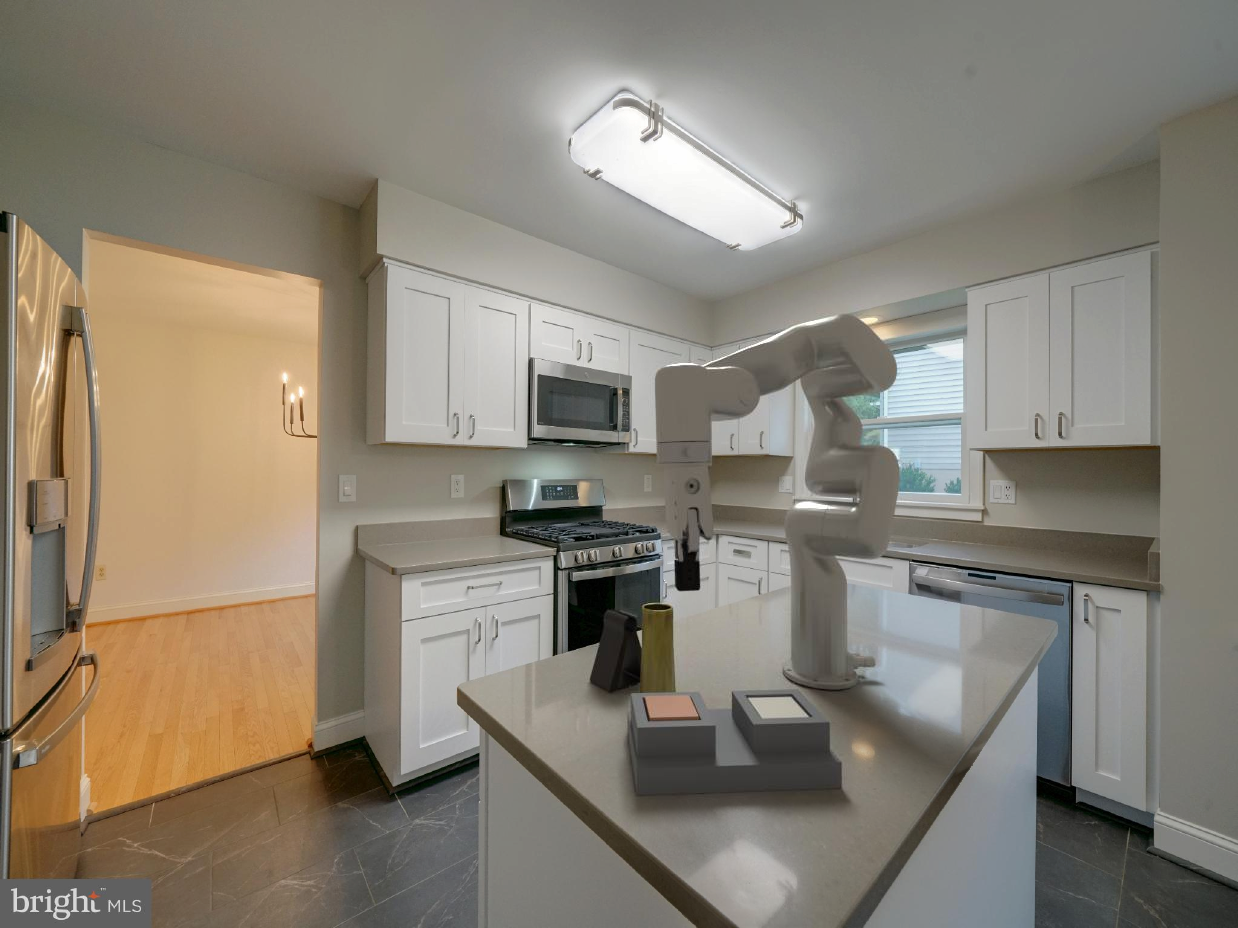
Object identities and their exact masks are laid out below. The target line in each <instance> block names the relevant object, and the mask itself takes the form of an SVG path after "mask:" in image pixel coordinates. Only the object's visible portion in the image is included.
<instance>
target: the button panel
mask: <svg viewBox="0 0 1238 928" xmlns="http://www.w3.org/2000/svg"><path fill="white" fill-rule="evenodd" d="M671 695H689V696H690V698H691V700H692V703H693V705H694V707H695V709H696V712H697V714H698V716H699V720H686V721H650V722H648V720H647V716H646V711H645V696H671ZM763 697H792V698H793V700H794V701H795V702H796V703H797V704H798V705H799V706H800V707H801V709H802V710H803V711H804V712H805V713H806V714H807V715H808V716H809V717H794V718H760V716H759V715H758V713H757V712H756V710H755V709H754V708H753V706H752V705H751V703H750V702H749V700H748V698H763ZM830 723H831V722H830V721H829V720H828V719H827V717H825V715H824V714H823V713H821V712H820V710H819V709H818V708H817V707H816V706H815V705H814V704H813V703H812V702H811V701H810V700H809V699H808V698H807V696H805V695H804V694H803V692H802V691H800V690H799V689H796V688H794V689H792V688H791V689H761V690H760V689H759V690H758V689H756V690H751V689H750V690H731V708H708V707H707V705H706V703H705V701H704V698H703V697H702V695H701V693H700V691H682V692H681V691H676V692H666V693H640V692H639V693H638V692H635V693H634V692H632V693H631V694H630V711H629V710H627V737H628V745H629V751H630V758H631V765H632V772H633V779H634V780H633V781H634V786H635V792H636V796H655V795H658V796H659V795H681V794H682V795H683V794H684V795H685V794H710V793H713V794H714V793H740V792H741V793H742V792H766V791H767V792H768V791H770V792H771V791H794V790H796V791H797V790H820V789H821V790H822V789H825V790H826V789H842V788H843V772H842V771H843V767H842V766H843V765H842V764H843V762H842V760H840V758H839V757H838V756H837V755H836V753H834V751H833V750H832V749H831V725H830Z"/></svg>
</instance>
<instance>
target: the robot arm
mask: <svg viewBox="0 0 1238 928" xmlns="http://www.w3.org/2000/svg"><path fill="white" fill-rule="evenodd" d="M897 375H898V364H897V361H896V358H895V355H894V354H893V352H892V350H891V349H890V348H889V346H888V345H887V344H886V343H885V342H884V341H883V339H881V338H880V337H879V335H877V333H876V332H875V331H874V330H873V329H872V328H871V327H870V326H869V325H868V324H866V322H864V321H863V320H862V319H860V318H858V317H856V316H854V315H853V314H850V313H840V314H836V315H831V316H828V317H823V318H820V319H815V320H812V321H807V322H803V323H799V324H796V325H793V326H791V327H788V328H787V329H785V330H783V331H781V332H780V333H777V334H775V335H773V336H771V337H768V338H767V339H765V340H763V341H760V342H758V343H755V344H754V345H751V346H747V347H746V348H743V349H740V350H738V351H736V352H733V353H731V354H729V355H727V356H723V357H721V358H718V359H717V360H714V361H713V360H712V361H710V362H708V363H706V364H704V365H699V364H697V363H675V364H669V365H666V366H663V367H661V368H660V369H658V370H657V372H656V374H655V376H654V377H655V378H654V397H655V398H654V400H655V402H654V403H655V405H654V408H655V439H656V443H655V444H656V468H664V501H665V502H664V508H665V511H664V512H665V513H664V514H665V525H666V531H667V533H668V534H669V535H670V536H671V537H672V538H673V543H674V544H673V545H674V546H673V547H674V548H673V549H674V587H675V588H676V590H677V591H678V592H693V591H694V592H695V591H697V592H698V591H700V590H701V567H700V566H701V564H700V544H701V543H700V539H701V538H703V540H705V541H708V542H709V541H711V540H712V539H713V538H714V533H715V532H714V519H713V517H714V516H713V506H712V505H713V504H712V502H713V501H712V492H711V481H710V474H709V469H708V467H712V466H713V452H712V449H713V448H712V446H713V445H712V442H713V441H712V422H724V421H732V420H738V419H742V418H744V417H747V416H749V415H750V414H751V413H753V412H754V410H755V409H756V408H757V406H758V404H759V403H760V399H761V397H763V396H767V395H770V394H774V393H777V392H779V391H782V390H783V389H785V388H787V387H789V386H790V385H792V384H794V383H795V382H797V381H798V380H799V381H800V387H801V390H802V391H803V394H804V396H805V398H806V400H807V403H808V406H809V408H810V410H811V414H812V415H813V420H814V421H813V422H814V428H813V429H814V430H813V434H812V437H811V443H810V448H809V451H808V457H807V461H806V464H805V465H806V466H805V472H804V483H805V487H806V488H807V490H808V491H809V492H810V493H811V494H814V495H816V496H819V497H828V498H845V499H858V502H851V501H837V500H836V501H835V500H819V499H818V500H817V499H815V500H804V501H803V500H802V501H800V502H797V503H795V504H793V505H792V506H791V507H790V508H788V510H787V513H786V515H785V518H784V533H785V538H786V543H787V547H788V548H787V549H788V554H789V565H790V655H791V656H790V659H787V660H785V662H783V663H782V666H781V667H782V673H783V675H784V676H785V677H786V678H787V679H789V680H790V681H792V682H793V683H796V684H799V685H802V686H805V687H809V688H814V689H818V690H833V691H834V690H835V691H838V690H845V689H849V688H852V687H855V686H856V684H857V683H858V673H857V672H856V671H855V670H858V669H859V668H874V667H875V666H876V660H875V658H874V656H873V655H861V654H860V653H859V652H850V651H848V650H849V649H848V643H849V642H848V581H847V576H846V574H845V571H844V569H843V567H842V565H841V563H840V562H839V560H838V558H837V557H842V558H852V559H856V560H857V559H859V560H866V561H867V560H868V561H869V560H870V561H871V560H878V559H879V558H881V557H883V555H885V553H886V552H887V551H888V547H889V546H890V545H889V544H890V541H891V536H892V531H893V526H894V525H893V524H894V519H895V513H896V507H897V501H898V496H899V490H900V489H899V488H900V481H901V479H900V477H901V475H900V474H901V472H900V471H901V470H900V464H899V460H898V458H897V456H896V453H894V451H893V450H891V449H890V448H889V447H887V446H885V445H880V444H861V441H862V434H863V423H862V421H861V418H859V416H858V415H857V413H856V412H855V411H854V410H853V409H852V408H851V407H850V406H849V405H848V403H847V402H846V401H845V400H844V398H848V397H850V398H851V397H856V396H858V397H859V396H866V395H874V394H881V393H883V392H885V391H887V390H889V389H890V388H892V386H893V385H894V384H895V381H896V379H897Z"/></svg>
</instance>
